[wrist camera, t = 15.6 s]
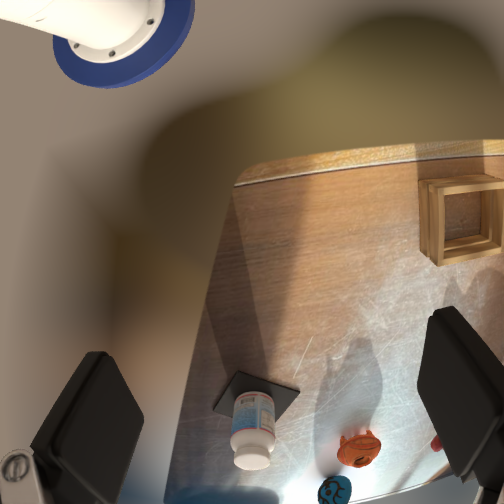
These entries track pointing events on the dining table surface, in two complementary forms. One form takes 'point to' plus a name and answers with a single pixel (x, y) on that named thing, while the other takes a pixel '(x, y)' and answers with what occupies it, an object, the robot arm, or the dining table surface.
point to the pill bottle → (253, 430)
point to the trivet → (250, 383)
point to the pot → (358, 450)
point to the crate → (433, 219)
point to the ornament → (335, 490)
